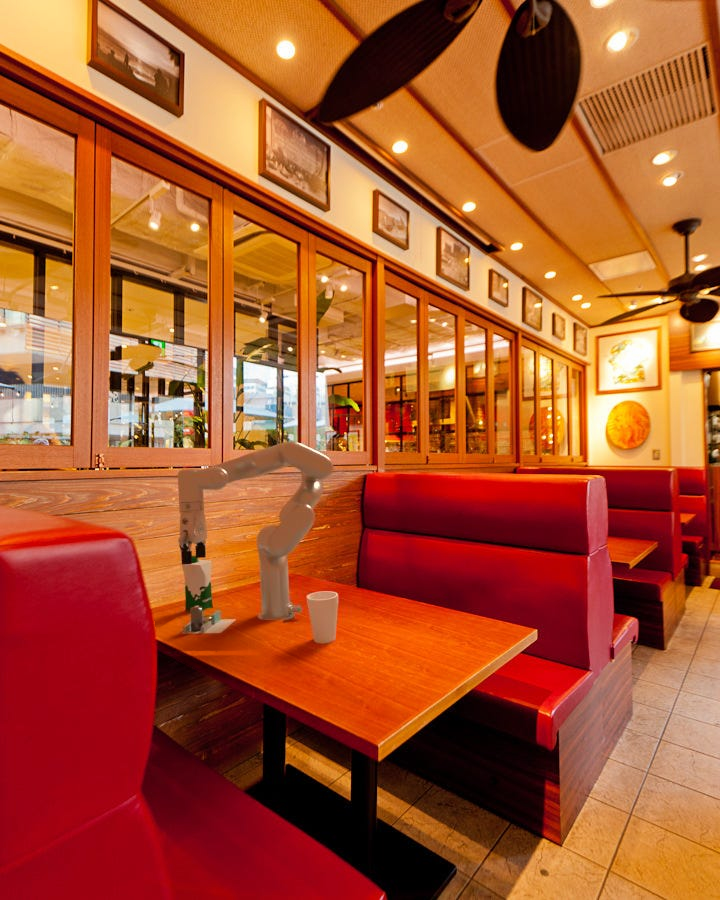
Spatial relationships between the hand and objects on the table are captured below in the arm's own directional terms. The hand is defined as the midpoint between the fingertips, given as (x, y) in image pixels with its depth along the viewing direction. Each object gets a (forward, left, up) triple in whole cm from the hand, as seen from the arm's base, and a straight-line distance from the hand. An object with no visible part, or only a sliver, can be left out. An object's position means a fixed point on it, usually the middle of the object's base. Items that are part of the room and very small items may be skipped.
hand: (194, 560), depth 158 cm
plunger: (0, -8, -21) cm, 23 cm away
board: (-2, -3, -23) cm, 24 cm away
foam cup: (-42, +6, -24) cm, 49 cm away
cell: (0, 0, -22) cm, 22 cm away
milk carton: (+10, -24, -24) cm, 35 cm away
